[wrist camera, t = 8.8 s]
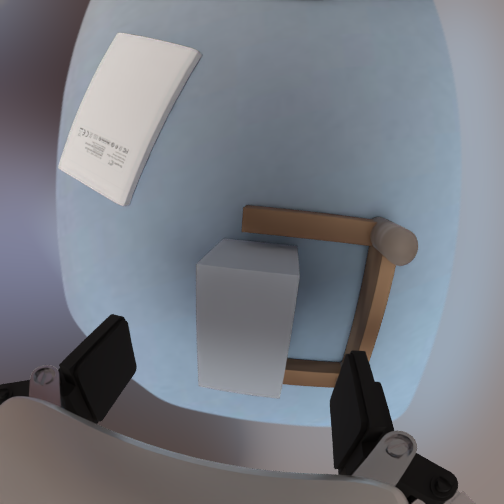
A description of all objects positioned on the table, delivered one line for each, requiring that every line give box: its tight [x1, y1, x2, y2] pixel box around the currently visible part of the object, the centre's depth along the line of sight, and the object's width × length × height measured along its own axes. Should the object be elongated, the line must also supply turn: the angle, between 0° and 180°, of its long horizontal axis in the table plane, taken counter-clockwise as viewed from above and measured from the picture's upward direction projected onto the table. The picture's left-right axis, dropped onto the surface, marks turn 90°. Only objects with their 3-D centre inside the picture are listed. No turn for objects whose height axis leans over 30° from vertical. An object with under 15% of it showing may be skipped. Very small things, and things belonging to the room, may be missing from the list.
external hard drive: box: [58, 33, 202, 206], centre depth 18 cm, size 2×8×12 cm
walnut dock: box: [242, 205, 418, 388], centre depth 17 cm, size 14×10×4 cm
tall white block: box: [196, 238, 300, 398], centre depth 17 cm, size 8×5×6 cm, turn 176°
